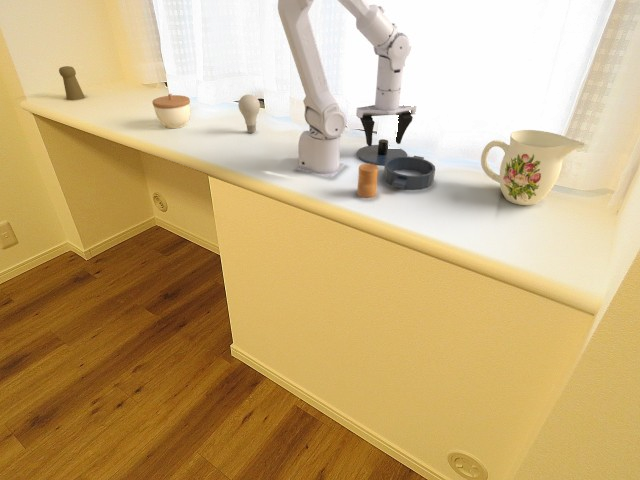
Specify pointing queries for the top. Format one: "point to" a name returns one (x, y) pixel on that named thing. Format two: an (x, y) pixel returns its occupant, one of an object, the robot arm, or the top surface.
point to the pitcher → (529, 164)
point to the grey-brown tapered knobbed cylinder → (71, 83)
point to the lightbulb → (249, 111)
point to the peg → (367, 180)
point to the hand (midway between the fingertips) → (383, 143)
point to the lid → (379, 153)
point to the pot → (406, 180)
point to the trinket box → (172, 110)
